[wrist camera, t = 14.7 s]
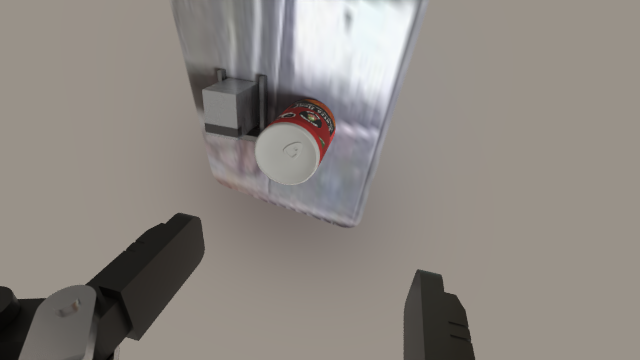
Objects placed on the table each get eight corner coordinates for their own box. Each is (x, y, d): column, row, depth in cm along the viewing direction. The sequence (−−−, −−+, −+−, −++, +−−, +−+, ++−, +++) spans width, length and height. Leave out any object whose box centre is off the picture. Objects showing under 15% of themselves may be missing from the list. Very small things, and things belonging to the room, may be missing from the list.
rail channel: (221, 68, 43) (210, 73, 41) (267, 75, 42) (258, 80, 40) (225, 127, 48) (215, 134, 45) (266, 135, 47) (259, 142, 44)
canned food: (347, 118, 43) (331, 150, 33) (317, 159, 47) (296, 197, 38) (301, 85, 42) (272, 109, 33) (275, 130, 46) (243, 162, 37)
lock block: (228, 77, 44) (201, 89, 38) (259, 82, 43) (235, 95, 37) (231, 118, 47) (206, 134, 41) (259, 122, 46) (238, 140, 40)
